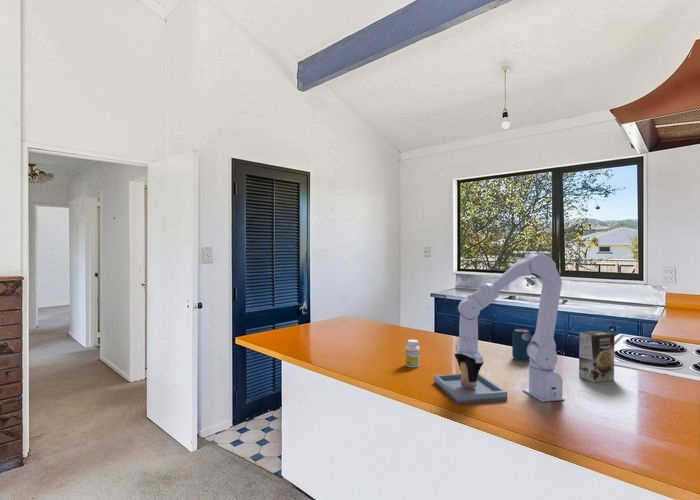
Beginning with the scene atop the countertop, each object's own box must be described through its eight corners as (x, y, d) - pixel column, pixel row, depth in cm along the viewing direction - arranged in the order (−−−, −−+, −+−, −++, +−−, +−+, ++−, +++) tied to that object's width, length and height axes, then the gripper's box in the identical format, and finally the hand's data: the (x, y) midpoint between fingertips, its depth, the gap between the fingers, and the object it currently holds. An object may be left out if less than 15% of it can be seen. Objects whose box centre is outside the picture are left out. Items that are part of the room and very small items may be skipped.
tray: (507, 400, 117) (507, 391, 117) (457, 404, 114) (457, 395, 114) (477, 379, 135) (477, 372, 135) (434, 382, 132) (434, 375, 132)
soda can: (532, 362, 153) (533, 332, 153) (514, 361, 155) (514, 331, 155) (528, 357, 160) (528, 328, 160) (510, 356, 162) (510, 327, 161)
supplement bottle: (410, 362, 154) (410, 338, 154) (422, 365, 151) (422, 340, 151) (403, 365, 150) (403, 340, 150) (415, 368, 147) (415, 343, 147)
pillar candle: (479, 387, 122) (479, 365, 122) (464, 388, 121) (464, 366, 121) (471, 381, 127) (471, 360, 127) (457, 382, 126) (457, 361, 126)
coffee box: (594, 383, 131) (594, 335, 130) (578, 376, 137) (578, 331, 137) (615, 380, 133) (615, 333, 133) (598, 374, 139) (598, 329, 139)
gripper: (447, 332, 131) (447, 372, 131) (467, 343, 116) (467, 387, 117) (466, 331, 132) (466, 370, 132) (489, 341, 118) (489, 386, 118)
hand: (468, 378), depth 124 cm, fingers closed on pillar candle, 5 cm apart
